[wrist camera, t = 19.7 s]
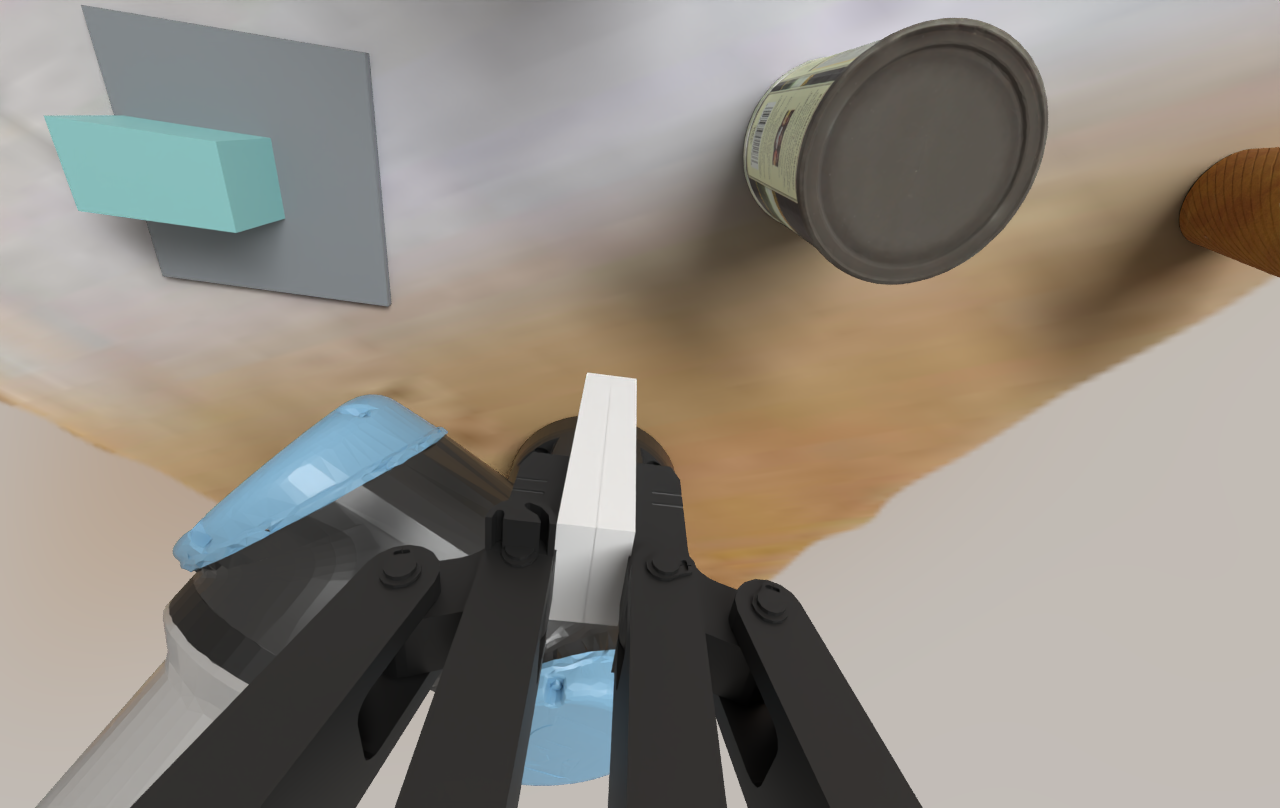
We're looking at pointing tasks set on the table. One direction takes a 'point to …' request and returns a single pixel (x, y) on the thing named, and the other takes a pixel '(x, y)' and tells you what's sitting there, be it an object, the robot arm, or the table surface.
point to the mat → (301, 140)
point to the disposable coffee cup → (1238, 209)
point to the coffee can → (901, 148)
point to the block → (168, 172)
